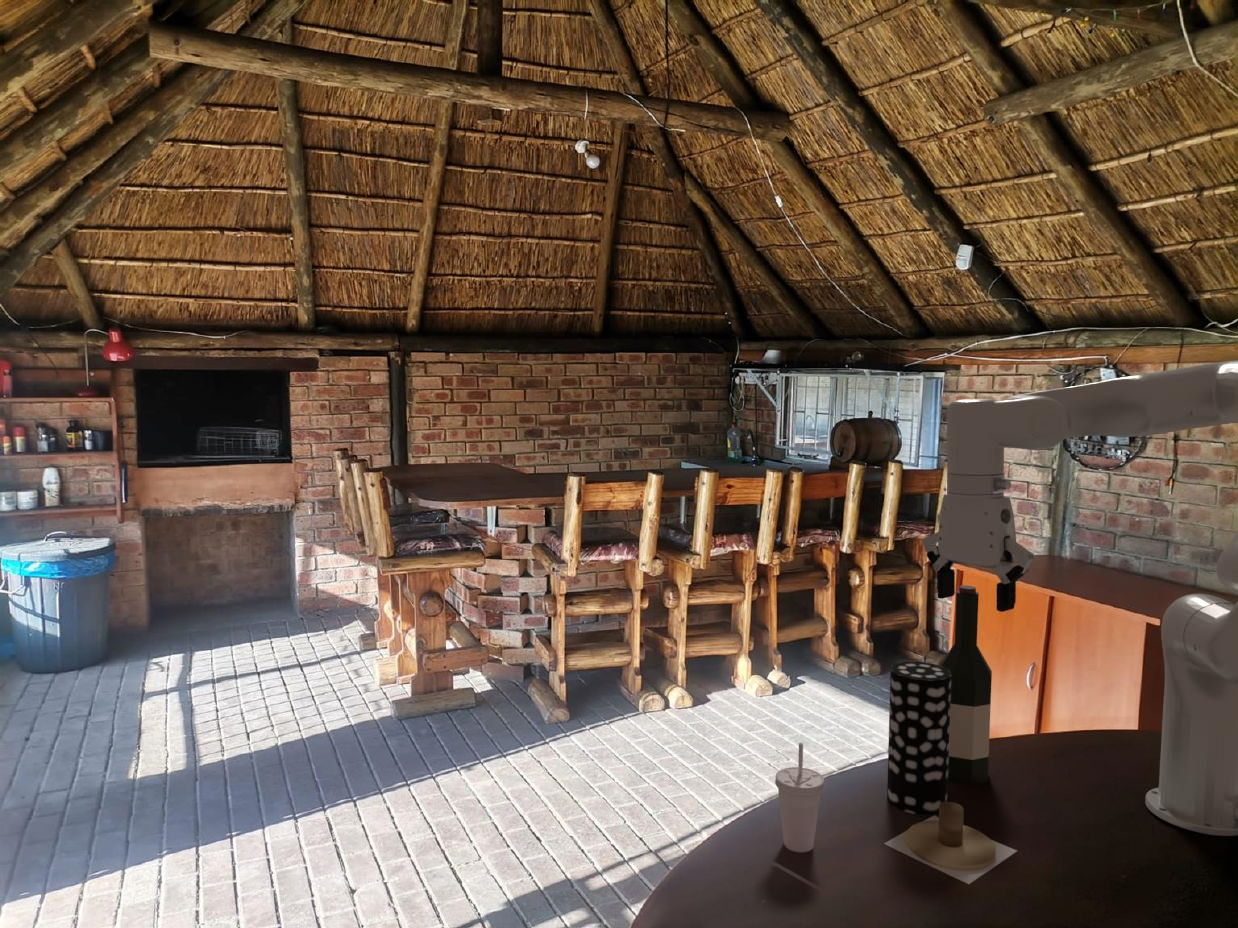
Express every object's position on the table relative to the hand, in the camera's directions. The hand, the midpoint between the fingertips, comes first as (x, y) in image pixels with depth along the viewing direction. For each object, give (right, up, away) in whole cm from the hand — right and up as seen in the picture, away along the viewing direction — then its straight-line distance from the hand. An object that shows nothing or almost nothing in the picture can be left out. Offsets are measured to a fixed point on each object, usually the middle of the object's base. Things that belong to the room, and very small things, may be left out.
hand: (974, 603), depth 124 cm
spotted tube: (-8, -30, +2) cm, 31 cm away
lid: (-8, -31, -11) cm, 33 cm away
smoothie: (-28, -31, -10) cm, 43 cm away
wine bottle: (+3, -29, +12) cm, 31 cm away
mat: (-8, -31, -11) cm, 34 cm away
